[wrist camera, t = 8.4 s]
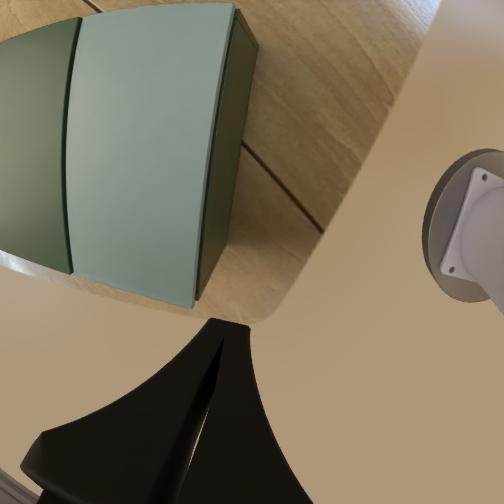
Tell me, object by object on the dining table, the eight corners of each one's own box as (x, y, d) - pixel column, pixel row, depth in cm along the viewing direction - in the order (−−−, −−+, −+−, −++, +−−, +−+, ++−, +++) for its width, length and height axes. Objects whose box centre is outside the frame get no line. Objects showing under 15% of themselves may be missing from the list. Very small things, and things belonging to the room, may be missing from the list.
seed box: (258, 44, 14) (236, 1, 8) (226, 245, 20) (193, 311, 14) (69, 49, 15) (-5, 43, 8) (60, 211, 21) (-2, 249, 14)
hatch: (235, 6, 8) (233, 2, 8) (194, 305, 14) (192, 309, 14) (87, 18, 9) (82, 16, 8) (78, 270, 14) (73, 274, 14)
